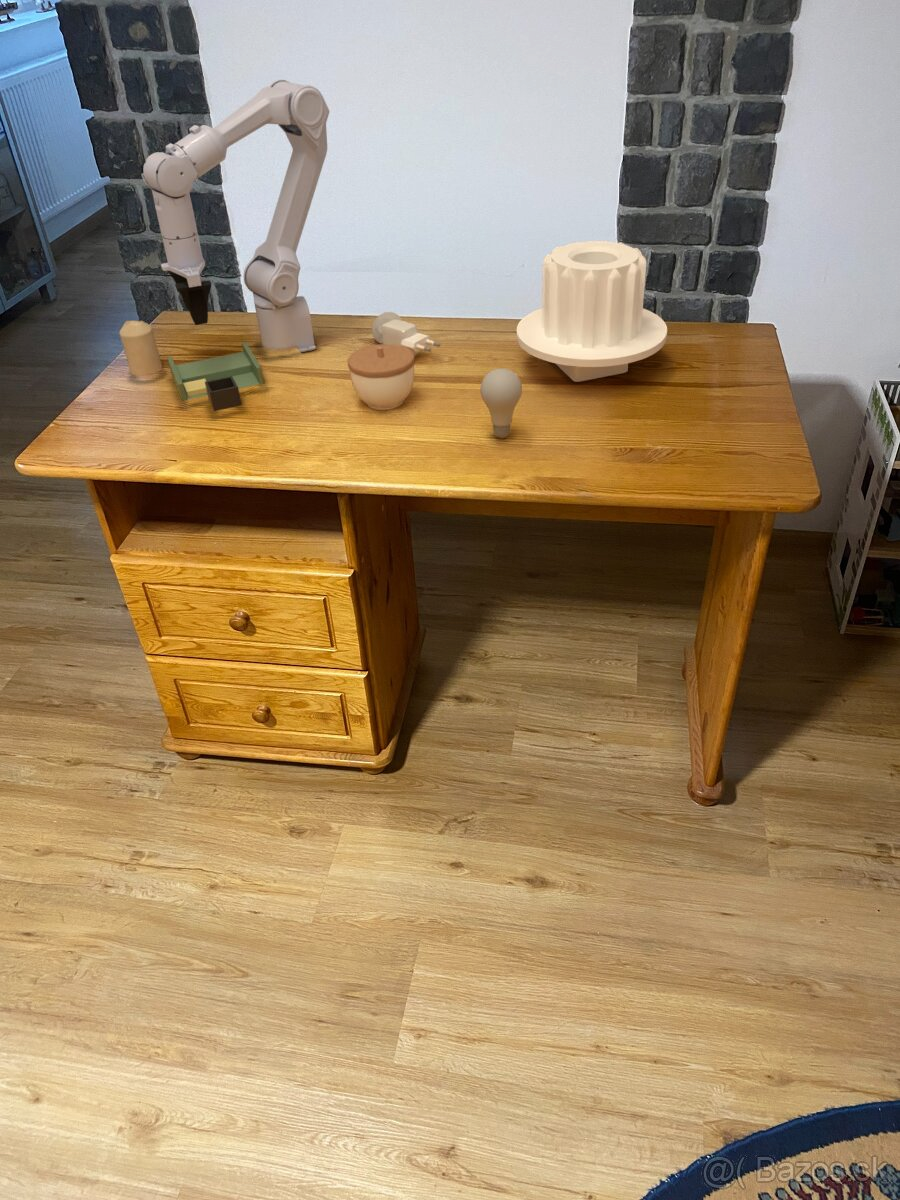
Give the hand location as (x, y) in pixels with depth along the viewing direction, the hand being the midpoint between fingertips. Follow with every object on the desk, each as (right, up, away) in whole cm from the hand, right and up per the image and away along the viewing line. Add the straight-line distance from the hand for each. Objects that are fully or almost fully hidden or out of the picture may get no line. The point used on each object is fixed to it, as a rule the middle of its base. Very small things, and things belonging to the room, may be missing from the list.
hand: (197, 316), depth 156 cm
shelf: (+3, -11, +2) cm, 12 cm away
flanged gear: (+68, -9, +1) cm, 68 cm away
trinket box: (+33, -16, -6) cm, 37 cm away
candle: (-11, -9, +7) cm, 15 cm away
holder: (+6, -17, -5) cm, 19 cm away
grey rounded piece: (+32, 0, +14) cm, 35 cm away
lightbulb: (+51, -24, -17) cm, 59 cm away
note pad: (+1, -13, -2) cm, 13 cm away
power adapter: (+37, -6, +7) cm, 38 cm away
